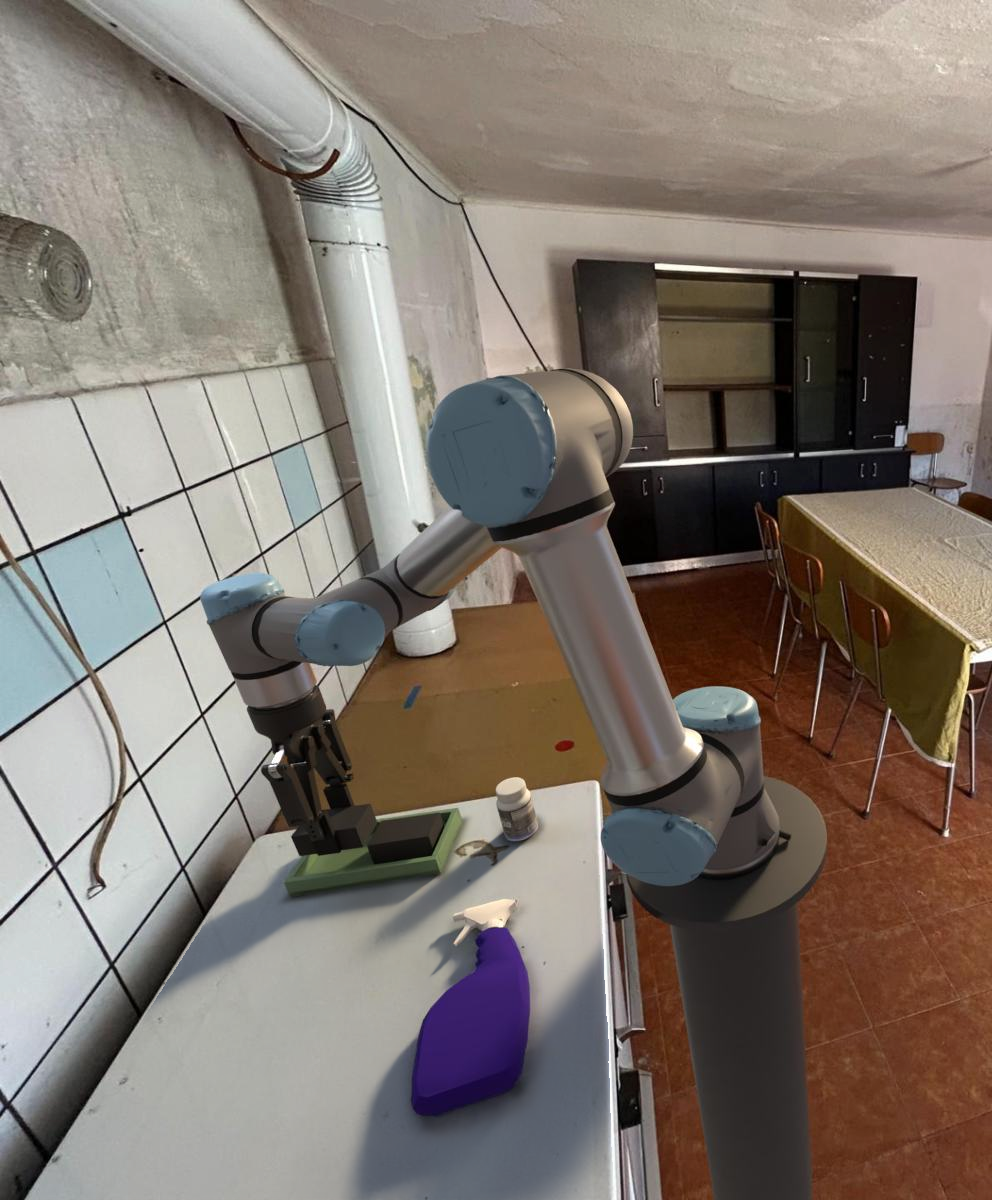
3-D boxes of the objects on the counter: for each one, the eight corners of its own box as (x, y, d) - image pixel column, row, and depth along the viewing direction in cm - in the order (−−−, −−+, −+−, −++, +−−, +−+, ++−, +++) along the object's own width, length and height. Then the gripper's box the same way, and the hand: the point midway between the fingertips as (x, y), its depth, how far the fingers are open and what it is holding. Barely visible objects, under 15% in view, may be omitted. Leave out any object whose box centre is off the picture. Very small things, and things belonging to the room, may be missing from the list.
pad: (445, 830, 97) (439, 812, 96) (435, 855, 93) (428, 836, 91) (388, 839, 96) (381, 820, 95) (374, 864, 92) (366, 845, 90)
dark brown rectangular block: (377, 822, 95) (370, 803, 93) (363, 847, 90) (355, 827, 89) (317, 830, 93) (309, 811, 92) (299, 856, 89) (290, 836, 88)
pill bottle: (500, 830, 98) (487, 785, 95) (531, 815, 101) (520, 770, 98) (511, 847, 95) (499, 801, 91) (543, 830, 98) (532, 785, 94)
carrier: (462, 820, 100) (458, 807, 99) (440, 873, 91) (435, 859, 90) (327, 840, 97) (321, 827, 96) (290, 897, 88) (283, 882, 87)
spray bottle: (523, 1068, 64) (532, 883, 85) (397, 1111, 60) (439, 908, 82) (529, 1087, 65) (536, 900, 86) (406, 1131, 61) (445, 925, 83)
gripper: (287, 664, 90) (340, 798, 99) (202, 740, 74) (275, 892, 83) (346, 658, 91) (393, 791, 100) (276, 731, 75) (339, 882, 84)
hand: (339, 837), depth 92 cm, fingers closed on dark brown rectangular block, 5 cm apart
